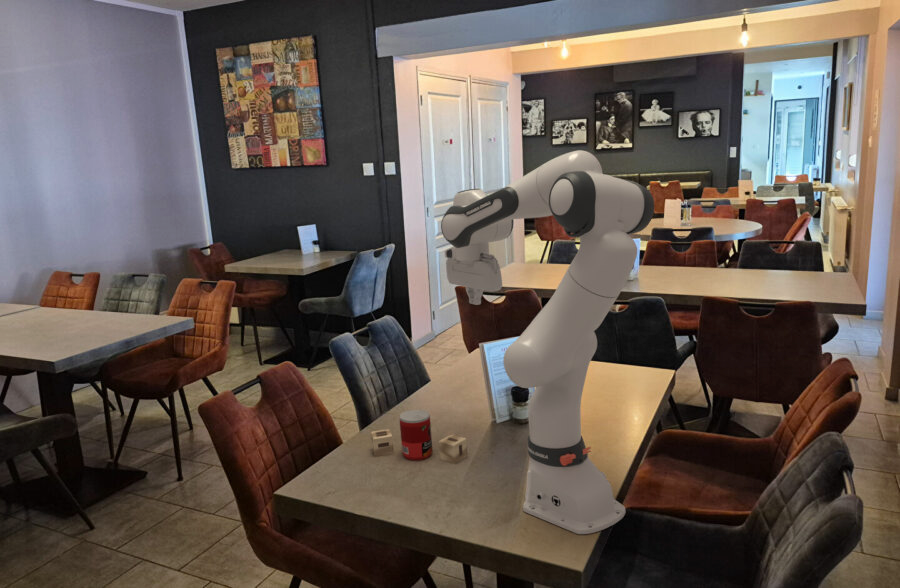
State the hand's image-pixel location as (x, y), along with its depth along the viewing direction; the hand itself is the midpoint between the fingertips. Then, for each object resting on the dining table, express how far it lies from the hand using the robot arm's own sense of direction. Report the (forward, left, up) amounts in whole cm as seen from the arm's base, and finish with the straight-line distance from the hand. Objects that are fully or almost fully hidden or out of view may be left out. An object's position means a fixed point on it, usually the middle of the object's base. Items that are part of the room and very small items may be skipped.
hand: (475, 303), depth 172 cm
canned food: (+2, +20, -37) cm, 42 cm away
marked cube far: (+10, +26, -37) cm, 46 cm away
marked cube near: (-6, +14, -37) cm, 40 cm away
